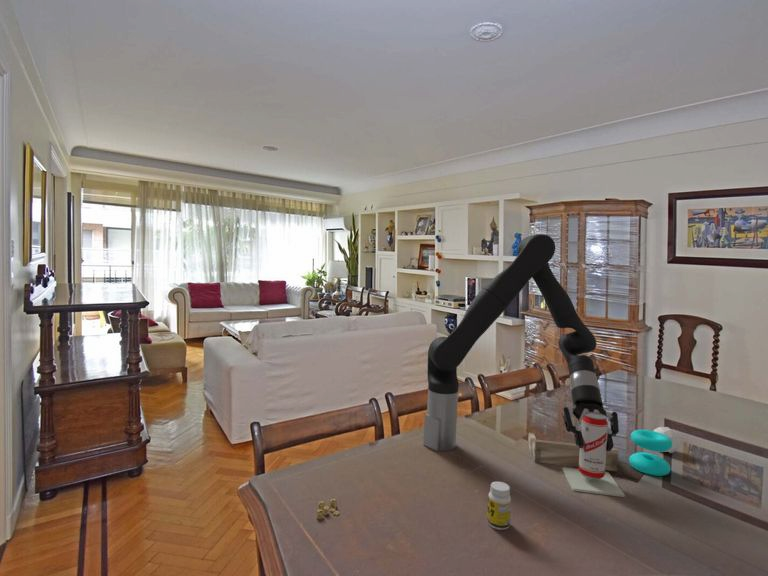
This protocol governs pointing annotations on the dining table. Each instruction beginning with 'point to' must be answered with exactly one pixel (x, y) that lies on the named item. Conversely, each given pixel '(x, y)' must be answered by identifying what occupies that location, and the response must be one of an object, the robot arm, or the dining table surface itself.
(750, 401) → the dining table surface
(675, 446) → the geometric ball
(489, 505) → the supplement bottle
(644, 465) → the donuts
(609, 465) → the birch bay
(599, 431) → the beer can
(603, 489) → the sage tile
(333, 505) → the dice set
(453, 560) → the dining table surface
